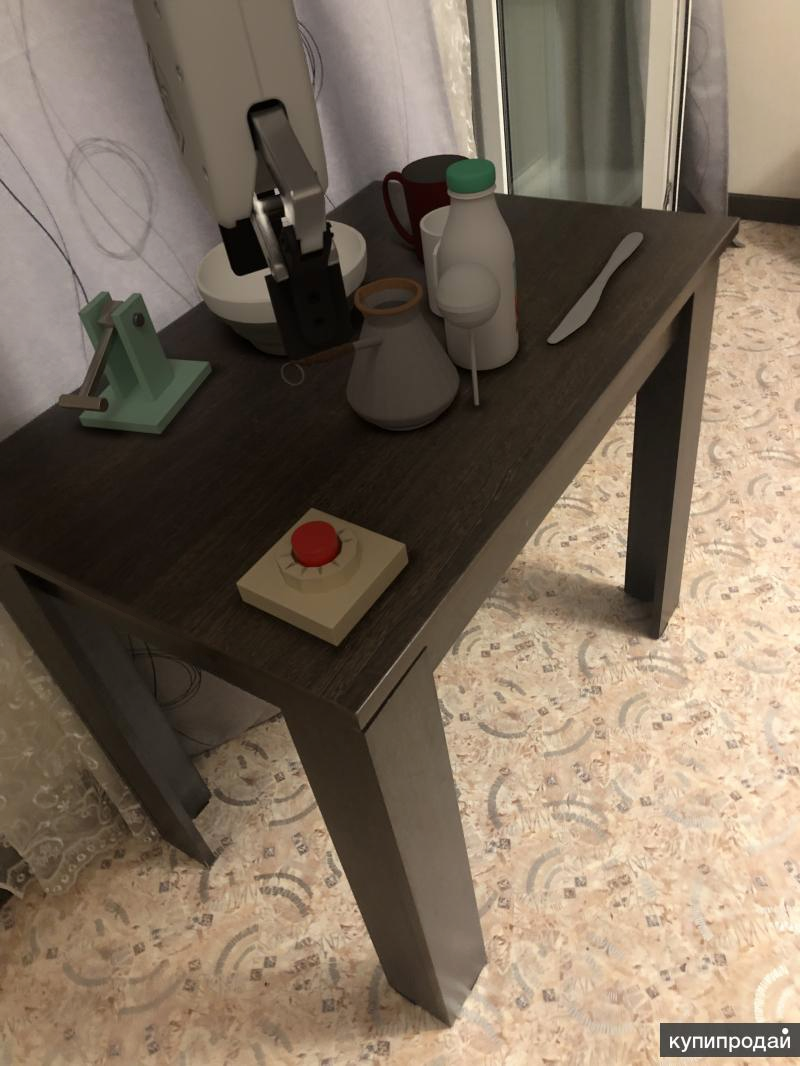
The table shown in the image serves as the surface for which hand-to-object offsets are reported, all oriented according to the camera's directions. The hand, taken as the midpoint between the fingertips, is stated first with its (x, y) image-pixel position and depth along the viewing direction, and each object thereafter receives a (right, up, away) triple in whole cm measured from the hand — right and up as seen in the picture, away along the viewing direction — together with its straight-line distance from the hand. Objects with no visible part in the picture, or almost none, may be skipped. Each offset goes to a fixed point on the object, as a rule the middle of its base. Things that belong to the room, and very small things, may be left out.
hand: (288, 304), depth 40 cm
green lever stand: (-23, +4, +51) cm, 56 cm away
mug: (+10, +26, +67) cm, 73 cm away
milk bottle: (+15, +8, +49) cm, 52 cm away
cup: (+12, +15, +56) cm, 59 cm away
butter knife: (+29, +18, +55) cm, 65 cm away
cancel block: (-1, -15, +27) cm, 31 cm away
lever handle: (-25, +6, +44) cm, 51 cm away
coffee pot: (+4, -2, +41) cm, 41 cm away
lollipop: (+13, +2, +42) cm, 44 cm away
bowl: (-7, +13, +57) cm, 59 cm away
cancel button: (-1, -13, +25) cm, 28 cm away
